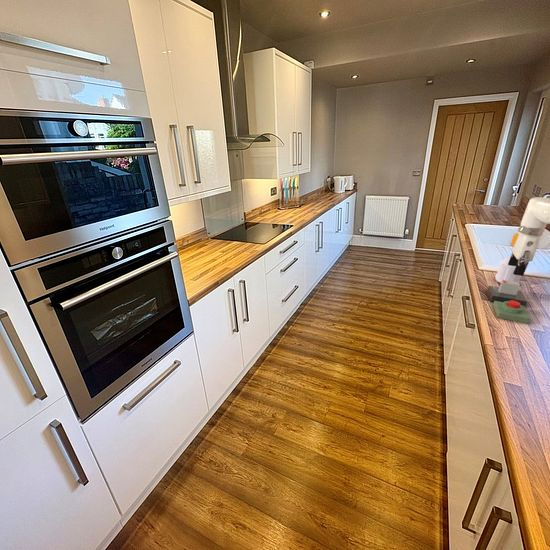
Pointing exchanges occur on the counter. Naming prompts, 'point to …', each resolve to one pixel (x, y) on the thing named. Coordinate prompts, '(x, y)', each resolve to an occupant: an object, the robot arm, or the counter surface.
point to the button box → (511, 312)
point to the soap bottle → (507, 268)
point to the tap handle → (509, 287)
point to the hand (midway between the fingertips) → (515, 270)
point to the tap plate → (505, 296)
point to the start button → (513, 304)
